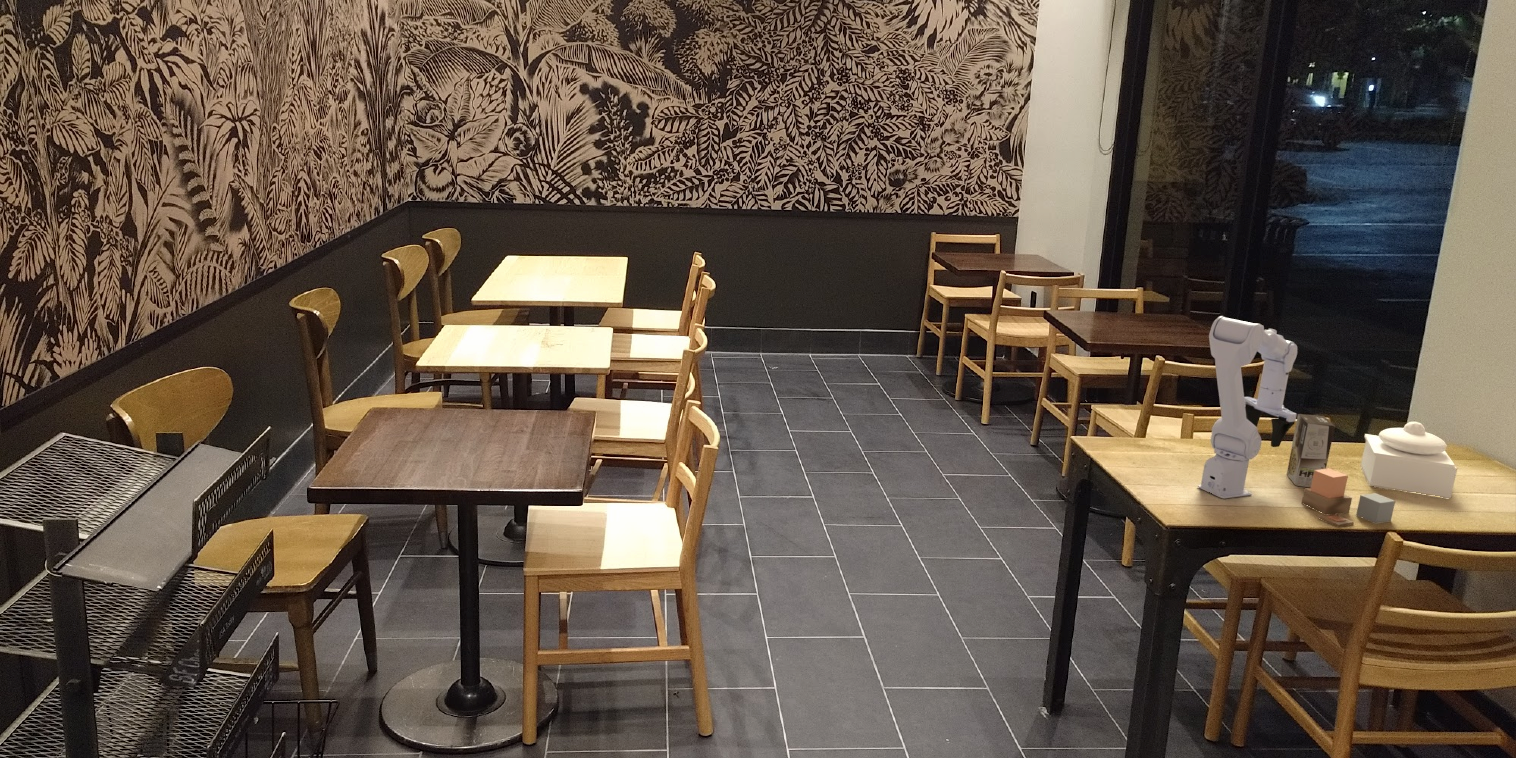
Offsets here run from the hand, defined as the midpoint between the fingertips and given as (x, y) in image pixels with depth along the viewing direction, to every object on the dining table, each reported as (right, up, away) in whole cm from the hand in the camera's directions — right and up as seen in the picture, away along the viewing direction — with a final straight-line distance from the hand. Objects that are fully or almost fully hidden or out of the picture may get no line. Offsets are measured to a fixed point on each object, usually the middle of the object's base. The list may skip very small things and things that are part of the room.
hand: (1262, 441), depth 272 cm
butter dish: (+39, -11, +8) cm, 41 cm away
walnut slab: (+8, -15, -14) cm, 22 cm away
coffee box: (+12, -10, +4) cm, 16 cm away
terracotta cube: (+8, -11, -15) cm, 20 cm away
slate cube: (+17, -16, -18) cm, 30 cm away
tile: (+6, -17, -22) cm, 28 cm away
